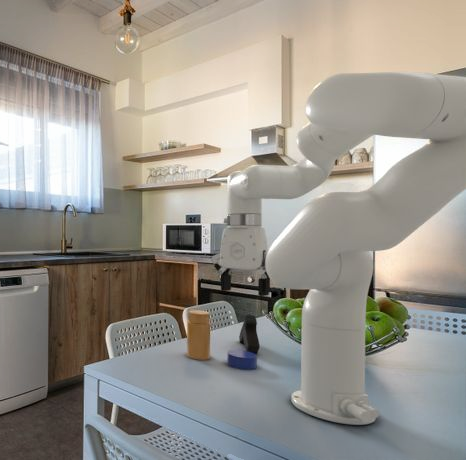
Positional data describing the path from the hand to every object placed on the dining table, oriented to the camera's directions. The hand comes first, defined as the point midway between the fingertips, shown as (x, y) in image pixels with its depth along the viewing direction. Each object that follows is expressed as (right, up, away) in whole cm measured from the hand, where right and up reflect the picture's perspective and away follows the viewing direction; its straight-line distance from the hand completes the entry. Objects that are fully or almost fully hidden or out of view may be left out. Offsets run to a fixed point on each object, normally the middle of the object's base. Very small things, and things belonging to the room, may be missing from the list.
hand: (244, 292), depth 97 cm
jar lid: (0, -18, 0) cm, 18 cm away
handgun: (+8, -18, +15) cm, 25 cm away
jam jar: (-8, -18, +7) cm, 21 cm away
